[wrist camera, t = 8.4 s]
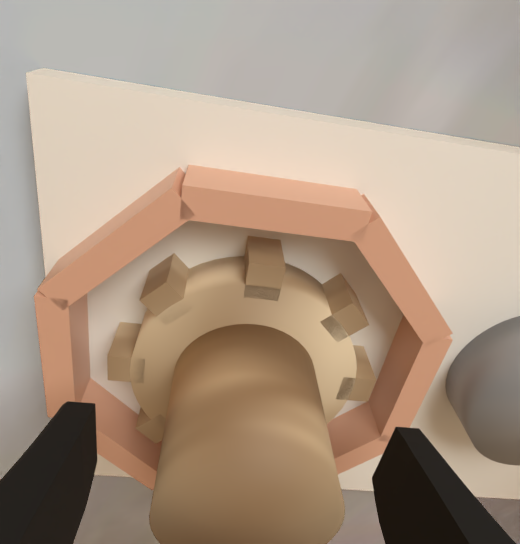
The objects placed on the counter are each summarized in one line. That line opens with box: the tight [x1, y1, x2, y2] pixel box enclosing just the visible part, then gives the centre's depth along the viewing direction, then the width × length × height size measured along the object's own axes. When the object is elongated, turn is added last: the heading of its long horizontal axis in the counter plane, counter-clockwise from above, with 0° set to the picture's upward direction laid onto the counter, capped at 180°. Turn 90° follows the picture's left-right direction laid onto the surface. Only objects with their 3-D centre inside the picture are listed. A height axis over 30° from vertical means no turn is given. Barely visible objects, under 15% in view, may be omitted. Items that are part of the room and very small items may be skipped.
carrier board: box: [26, 68, 520, 499], centre depth 14 cm, size 20×14×3 cm
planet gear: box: [107, 236, 376, 544], centre depth 11 cm, size 8×8×6 cm
